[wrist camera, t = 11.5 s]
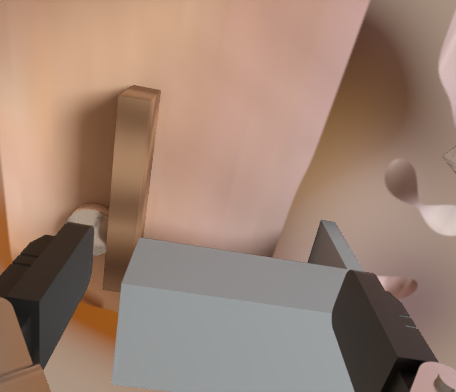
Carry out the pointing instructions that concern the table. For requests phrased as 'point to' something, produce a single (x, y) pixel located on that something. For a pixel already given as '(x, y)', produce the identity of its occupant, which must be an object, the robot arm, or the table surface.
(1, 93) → the table surface
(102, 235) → the silver rounded piece
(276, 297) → the low cabinet
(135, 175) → the copper bar
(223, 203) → the table surface
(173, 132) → the table surface
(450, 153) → the skincare box
